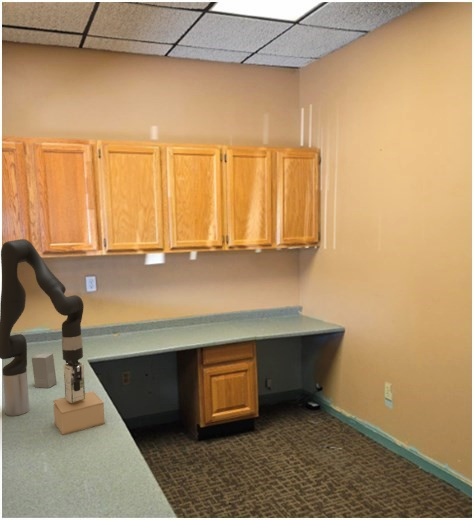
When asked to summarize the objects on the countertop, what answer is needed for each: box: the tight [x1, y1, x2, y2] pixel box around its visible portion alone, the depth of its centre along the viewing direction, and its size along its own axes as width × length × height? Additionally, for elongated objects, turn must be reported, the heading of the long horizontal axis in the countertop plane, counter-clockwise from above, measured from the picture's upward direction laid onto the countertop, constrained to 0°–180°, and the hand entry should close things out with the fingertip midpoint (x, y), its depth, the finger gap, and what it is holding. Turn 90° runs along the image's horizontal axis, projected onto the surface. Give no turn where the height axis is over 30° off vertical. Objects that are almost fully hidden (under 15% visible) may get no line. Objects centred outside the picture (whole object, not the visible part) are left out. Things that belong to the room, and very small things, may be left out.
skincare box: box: [31, 353, 57, 389], centre depth 228 cm, size 8×7×16 cm
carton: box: [53, 403, 106, 435], centre depth 183 cm, size 13×16×8 cm
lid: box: [52, 390, 105, 414], centre depth 183 cm, size 13×16×1 cm
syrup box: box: [63, 361, 86, 403], centre depth 181 cm, size 6×6×14 cm
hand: (74, 388), depth 182 cm, fingers closed on syrup box, 6 cm apart
